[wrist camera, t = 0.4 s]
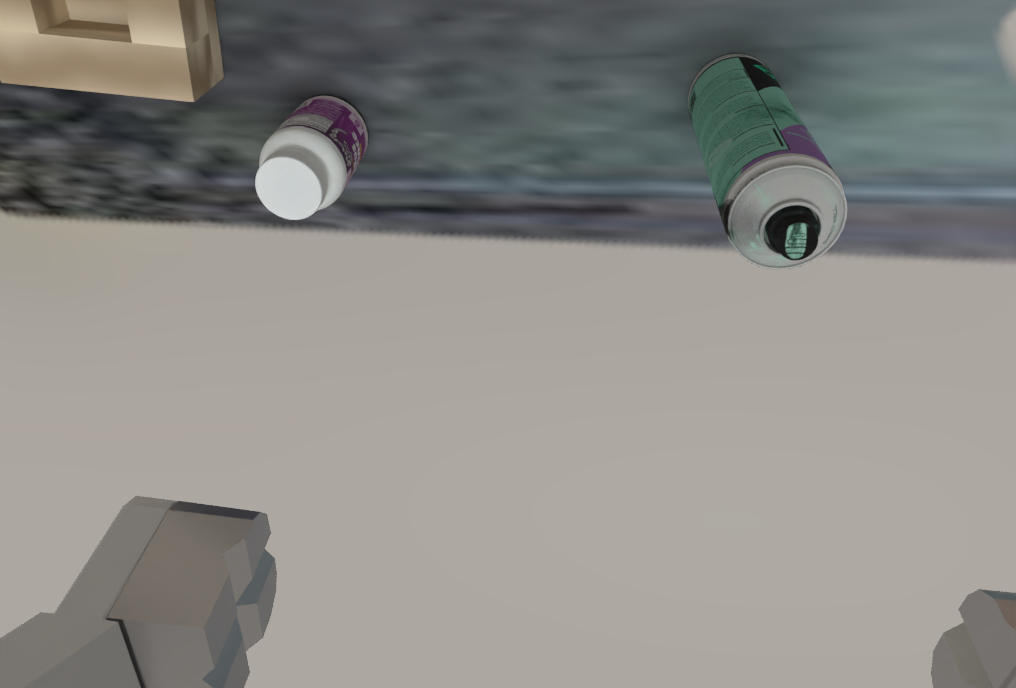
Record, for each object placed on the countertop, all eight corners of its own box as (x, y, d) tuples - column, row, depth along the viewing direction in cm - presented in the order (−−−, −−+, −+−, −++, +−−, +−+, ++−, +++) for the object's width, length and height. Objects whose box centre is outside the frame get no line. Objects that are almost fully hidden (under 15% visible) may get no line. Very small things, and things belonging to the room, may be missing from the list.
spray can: (711, 154, 53) (766, 317, 37) (671, 85, 51) (711, 227, 35) (790, 109, 51) (884, 261, 35) (752, 35, 49) (834, 161, 33)
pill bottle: (373, 170, 56) (338, 234, 48) (299, 168, 56) (252, 230, 49) (366, 93, 53) (327, 147, 45) (286, 91, 53) (234, 144, 45)
